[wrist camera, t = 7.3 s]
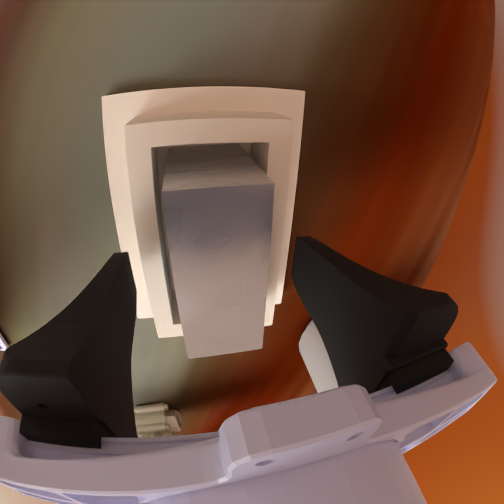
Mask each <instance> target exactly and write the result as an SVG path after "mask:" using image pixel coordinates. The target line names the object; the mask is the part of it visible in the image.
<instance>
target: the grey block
mask: <svg viewBox="0 0 504 504" xmlns="http://www.w3.org/2000/svg"><path fill="white" fill-rule="evenodd" d="M274 188H275V183H274V182H273V181H272V180H271V179H270V178H269V177H268V175H267V174H266V173H265V172H264V171H263V170H262V169H261V168H260V167H259V165H258V164H257V163H256V162H255V161H254V160H253V159H252V158H251V157H250V156H249V154H248V153H247V152H246V151H245V150H244V149H243V148H242V147H241V146H240V145H239V144H228V145H208V146H193V147H180V148H169V149H168V153H167V159H166V166H165V173H164V179H163V187H162V198H163V208H164V216H165V225H166V233H167V240H168V248H169V255H170V262H171V268H172V275H173V281H174V287H175V293H176V299H177V304H178V310H179V315H180V321H181V326H182V331H183V336H184V341H185V346H186V350H187V355H188V359H190V358H199V357H207V356H215V355H223V354H230V353H237V352H243V351H250V350H256V349H262V343H263V332H264V321H265V309H266V297H267V285H268V272H269V259H270V246H271V232H272V218H273V203H274Z"/></svg>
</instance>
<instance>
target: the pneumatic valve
mask: <svg viewBox="0 0 504 504" xmlns="http://www.w3.org/2000/svg"><path fill="white" fill-rule="evenodd" d="M134 413H137V414H136V415H135V423H136V430H137V435H138V436H139V435H142V436H143V438H146V437H168V436H178V433H177V432H176V431H181V429H182V421H181V417H180V414H179V412H178V411H177V410H169V409H168V404H165V403H164V402H163V403H156V404H149V405H141V406H136V408H134Z"/></svg>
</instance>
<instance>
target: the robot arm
mask: <svg viewBox="0 0 504 504" xmlns="http://www.w3.org/2000/svg"><path fill="white" fill-rule="evenodd" d="M291 276H292V279H293V282H294V285H295V287H296V290H297V292H298V295H299V296H300V298H301V300H302V302H303V304H304V306H305V308H306V309H307V311H308V313H309V315H310V317H311V319H312V320H313V322H314V324H315V326H316V328H317V330H318V332H319V334H320V336H321V338H322V341H323V343H324V346H325V348H326V351H327V353H328V356H329V359H330V362H331V365H332V368H333V371H334V374H335V377H336V380H337V384H338V388H334V389H331V390H327V391H324V392H320V393H316V394H312V395H308V396H304V397H300V398H296V399H292V400H288V401H283V402H278V403H274V404H269V405H264V406H259V407H255V408H252V409H248V410H245V411H241V412H238V413H237V414H235V415H233V416H231V417H229V418H228V419H226V420H225V421H224V422H223V424H222V425H221V427H220V429H219V431H218V432H211V433H202V434H193V435H182V436H168V437H146V438H138V436H137V430H136V423H135V415H134V406H133V395H132V379H131V353H132V344H133V335H134V327H135V319H136V311H137V289H136V285H135V281H134V277H133V272H132V268H131V263H130V258H129V254H128V252H120V253H114V254H113V255H112V256H111V258H110V259H109V260H108V261H107V262H106V264H105V265H104V266H103V267H102V269H101V270H100V271H99V272H98V274H97V275H96V276H95V277H94V278H93V280H92V281H91V282H90V283H89V284H88V285H87V286H86V287H85V289H84V290H83V291H82V292H81V293H80V294H79V295H78V296H77V297H76V298H75V299H74V300H73V301H72V302H71V303H70V304H69V305H68V306H67V307H66V308H65V309H64V310H63V311H61V312H60V313H59V314H58V315H57V316H55V317H54V318H53V319H52V320H50V321H49V322H48V323H47V324H45V325H44V326H43V327H41V328H40V329H38V330H37V331H35V332H34V333H32V334H31V335H29V336H28V337H26V338H25V339H23V340H21V341H19V342H17V343H16V344H14V345H12V346H10V347H9V346H8V344H7V342H6V341H5V339H4V338H3V336H2V335H1V333H0V350H1V351H5V352H4V355H3V358H2V361H1V364H0V391H1V392H2V394H3V395H4V396H5V397H6V398H7V399H8V400H9V401H10V402H11V403H12V404H13V405H14V406H15V407H16V408H17V409H18V410H19V411H20V412H21V413H22V418H21V422H20V421H19V420H17V419H14V418H11V417H6V416H1V415H0V483H2V484H3V485H6V486H7V487H9V488H11V489H13V490H15V491H17V492H19V493H21V494H24V495H27V496H30V497H34V498H37V499H41V500H46V501H49V502H53V503H57V504H427V503H426V501H425V499H424V497H423V494H422V493H421V490H420V488H419V487H418V485H417V482H416V480H415V478H414V476H413V474H412V472H411V470H410V469H409V466H408V464H407V463H406V461H405V459H404V457H403V455H402V454H403V453H405V452H407V451H408V450H410V449H412V448H413V447H415V446H417V445H418V444H420V443H422V442H423V441H425V440H426V439H428V438H429V437H431V436H433V435H434V434H435V433H437V432H439V431H440V430H442V429H443V428H444V427H446V426H448V425H449V424H450V423H452V422H453V421H455V420H456V419H458V418H459V417H460V416H462V415H463V414H464V413H466V412H467V411H468V410H469V409H470V408H471V407H473V405H475V404H476V403H477V402H478V401H479V400H480V399H481V398H482V397H483V396H484V394H485V393H486V392H487V391H488V390H489V389H490V388H491V387H492V386H493V385H494V384H495V383H496V382H497V378H496V377H495V375H494V374H493V373H492V371H491V370H490V369H489V367H488V366H487V365H486V363H485V362H484V361H483V359H482V358H481V357H480V355H479V354H478V353H477V352H476V350H475V349H474V348H473V347H472V345H471V344H470V343H469V342H466V343H464V344H462V345H460V346H458V347H456V348H454V349H453V350H452V351H451V352H450V353H448V352H447V351H446V349H445V348H446V347H447V342H446V341H445V340H444V337H445V336H446V334H447V333H448V331H449V329H450V328H451V326H452V324H453V323H454V321H455V319H456V316H457V313H458V306H457V304H456V303H455V302H454V301H453V299H451V297H450V296H449V295H448V294H446V293H443V292H437V291H432V290H427V289H422V288H418V287H415V286H411V285H407V284H404V283H401V282H398V281H395V280H393V279H390V278H387V277H385V276H382V275H380V274H378V273H375V272H373V271H371V270H369V269H367V268H365V267H363V266H361V265H359V264H357V263H355V262H353V261H352V260H350V259H348V258H346V257H345V256H343V255H341V254H340V253H338V252H336V251H334V250H333V249H331V248H330V247H328V246H326V245H325V244H323V243H321V242H319V241H318V240H316V239H314V238H312V237H310V236H307V237H297V238H296V245H295V252H294V259H293V266H292V272H291Z"/></svg>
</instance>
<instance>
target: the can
mask: <svg viewBox="0 0 504 504" xmlns="http://www.w3.org/2000/svg"><path fill="white" fill-rule="evenodd" d="M299 351H300V353H301V355H302V358H303V360H304V362H305V365H306V367H307V369H308V371H309V374H310V376H311V378H312V381H313V383H314V385H315V387H316V390H317V392H318V393H320V392H324V391H327V390H331V389H334V388H338V384H337V380H336V377H335V374H334V371H333V368H332V365H331V362H330V359H329V356H328V353H327V351H326V348H325V346H324V343H323V341H322V338H321V336H320V334H319V332H318V330H317V328H316V326H315V324H314V322H313V320H311V322H310V323H309V324H308V326H307V327H306V330H305V331H304V333H303V334H302V336H301V339H300V342H299Z"/></svg>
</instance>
